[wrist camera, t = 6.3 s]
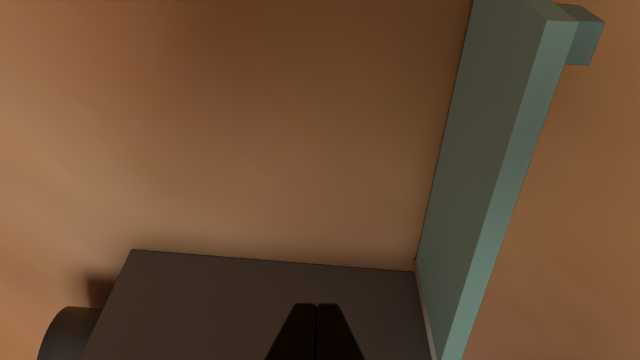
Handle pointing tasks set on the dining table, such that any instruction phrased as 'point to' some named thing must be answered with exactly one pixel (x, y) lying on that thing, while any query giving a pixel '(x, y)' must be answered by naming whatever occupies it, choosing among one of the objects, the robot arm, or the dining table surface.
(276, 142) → the dining table surface
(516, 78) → the grey-green bar
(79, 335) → the large grey box
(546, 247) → the dining table surface
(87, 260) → the dining table surface
